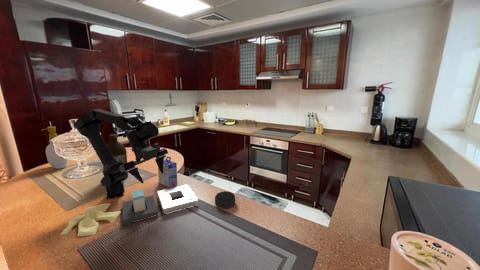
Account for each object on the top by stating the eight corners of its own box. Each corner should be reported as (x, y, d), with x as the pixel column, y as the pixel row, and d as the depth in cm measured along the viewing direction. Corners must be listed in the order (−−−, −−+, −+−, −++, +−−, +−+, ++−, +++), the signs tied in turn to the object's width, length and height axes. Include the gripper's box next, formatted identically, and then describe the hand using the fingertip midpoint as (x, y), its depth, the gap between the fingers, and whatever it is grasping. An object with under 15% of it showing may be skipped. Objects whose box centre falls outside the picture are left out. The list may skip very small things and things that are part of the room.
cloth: (102, 202, 88) (100, 189, 86) (132, 212, 81) (131, 198, 80) (37, 235, 67) (33, 219, 66) (71, 251, 61) (67, 234, 60)
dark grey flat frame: (123, 225, 72) (122, 220, 72) (122, 206, 84) (122, 202, 83) (158, 215, 78) (157, 211, 78) (153, 199, 90) (153, 195, 89)
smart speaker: (222, 196, 93) (222, 188, 92) (238, 202, 89) (238, 194, 88) (210, 205, 86) (210, 197, 85) (227, 212, 81) (227, 203, 80)
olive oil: (105, 177, 111) (99, 134, 105) (126, 172, 118) (121, 131, 113) (109, 184, 103) (103, 138, 98) (131, 178, 111) (126, 135, 105)
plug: (134, 216, 77) (132, 198, 76) (134, 208, 82) (132, 191, 81) (146, 213, 79) (144, 195, 78) (144, 206, 84) (142, 189, 83)
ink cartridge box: (178, 184, 104) (176, 158, 101) (169, 188, 100) (167, 161, 97) (167, 179, 110) (165, 154, 107) (158, 182, 106) (156, 157, 103)
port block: (163, 215, 78) (163, 207, 77) (157, 197, 92) (157, 190, 91) (198, 205, 85) (197, 198, 84) (187, 190, 99) (187, 183, 98)
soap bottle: (43, 168, 123) (34, 127, 118) (60, 163, 131) (52, 124, 126) (56, 171, 118) (47, 129, 112) (73, 166, 126) (66, 126, 120)
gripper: (121, 148, 70) (139, 187, 71) (167, 133, 84) (181, 166, 85) (112, 153, 77) (128, 189, 78) (155, 138, 91) (168, 169, 92)
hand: (153, 178), depth 83 cm, fingers open, 9 cm apart
